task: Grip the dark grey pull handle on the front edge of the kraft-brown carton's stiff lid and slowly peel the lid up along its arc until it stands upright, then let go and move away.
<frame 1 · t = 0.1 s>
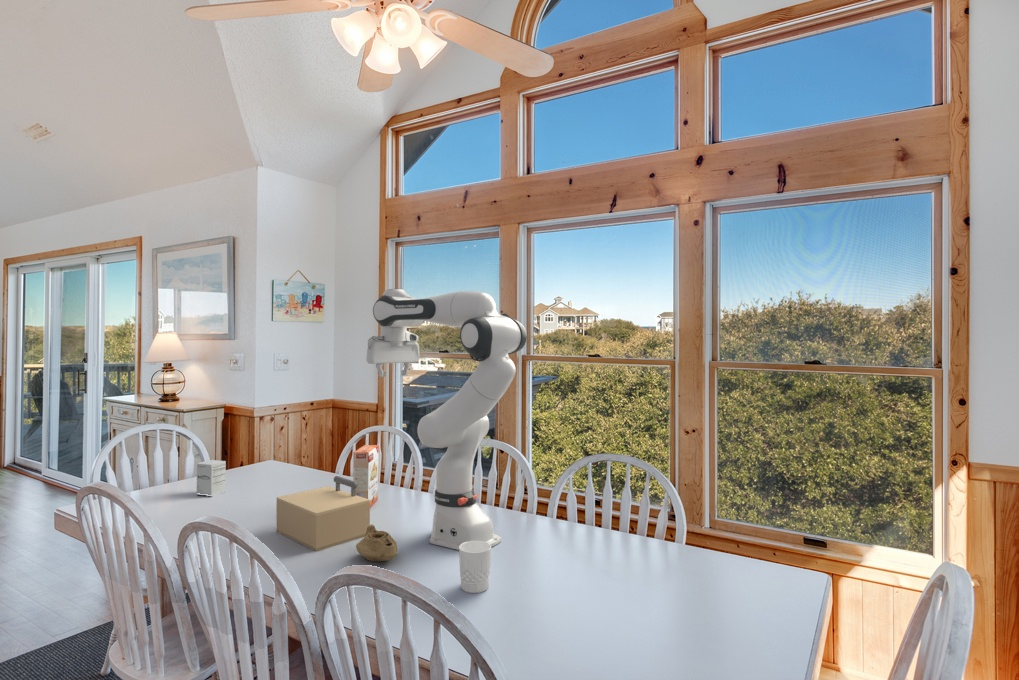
hand: (393, 376, 192), 48 cm above the table, tool pointing down, fingers open, 8 cm apart
white cup: (474, 588, 136), on the table
carton: (322, 533, 173), on the table
carton lid: (322, 492, 173), point 13 cm above the table, hinge at 0.0°
cracker box: (366, 505, 202), on the table
oil lamp: (380, 559, 153), on the table
supplement box: (211, 494, 216), on the table
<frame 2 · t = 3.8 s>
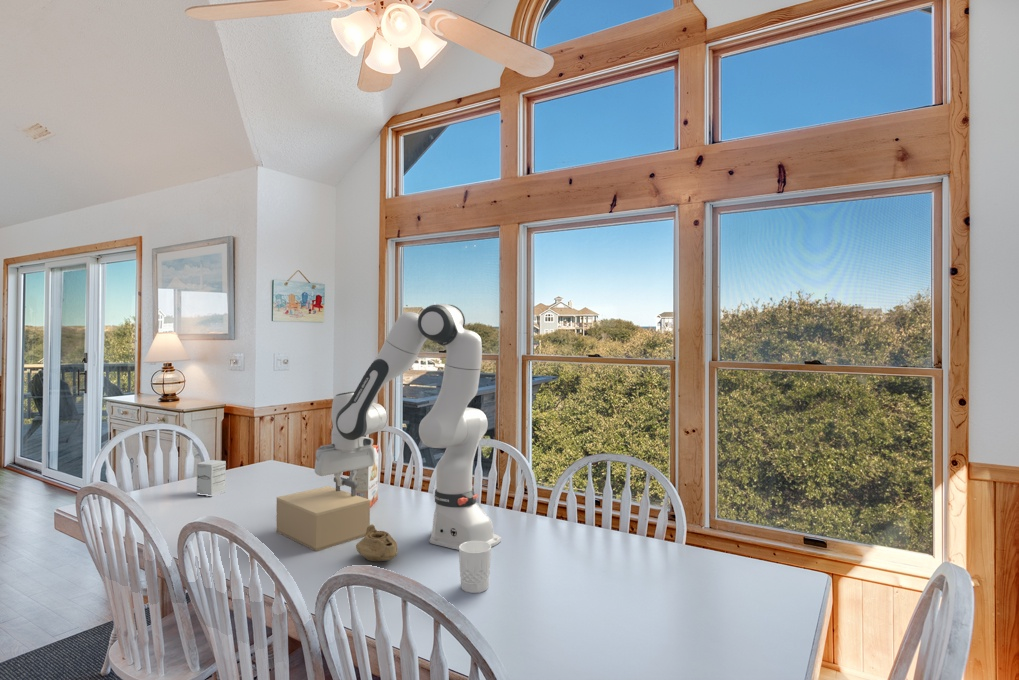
hand: (345, 484, 179), 14 cm above the table, tool pointing down, fingers closed on carton lid, 2 cm apart
carton lid: (322, 492, 173), point 13 cm above the table, hinge at 0.0°, touching gripper
everything else where it was.
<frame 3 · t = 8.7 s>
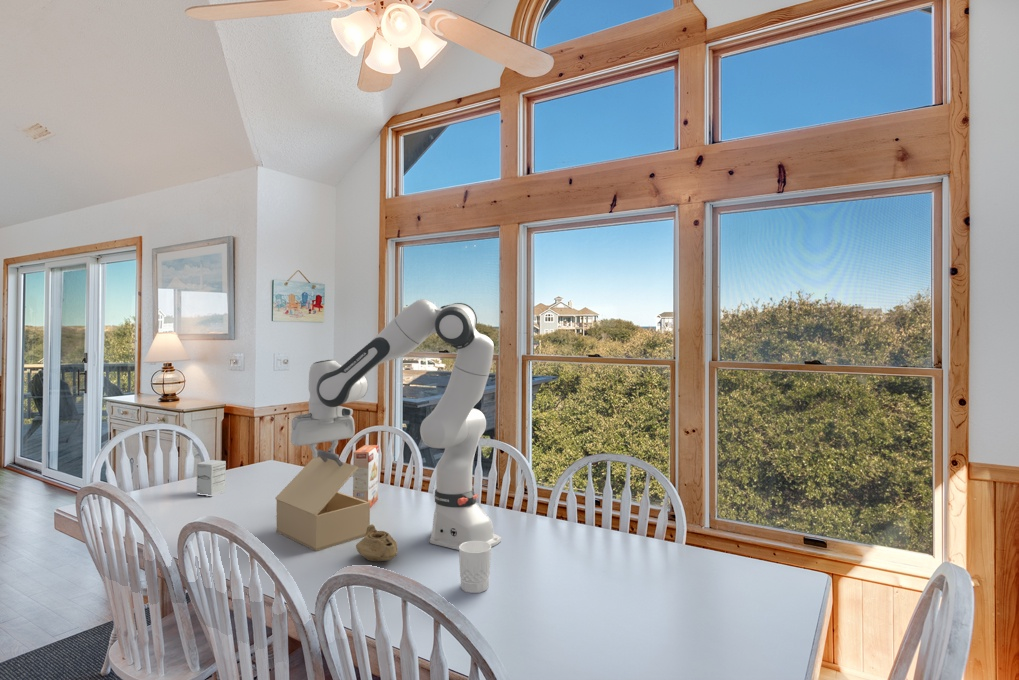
hand: (324, 456, 173), 24 cm above the table, tool pointing down, fingers open, 4 cm apart
carton lid: (311, 478, 170), point 18 cm above the table, hinge at 39.4°, touching gripper
everything else where it was.
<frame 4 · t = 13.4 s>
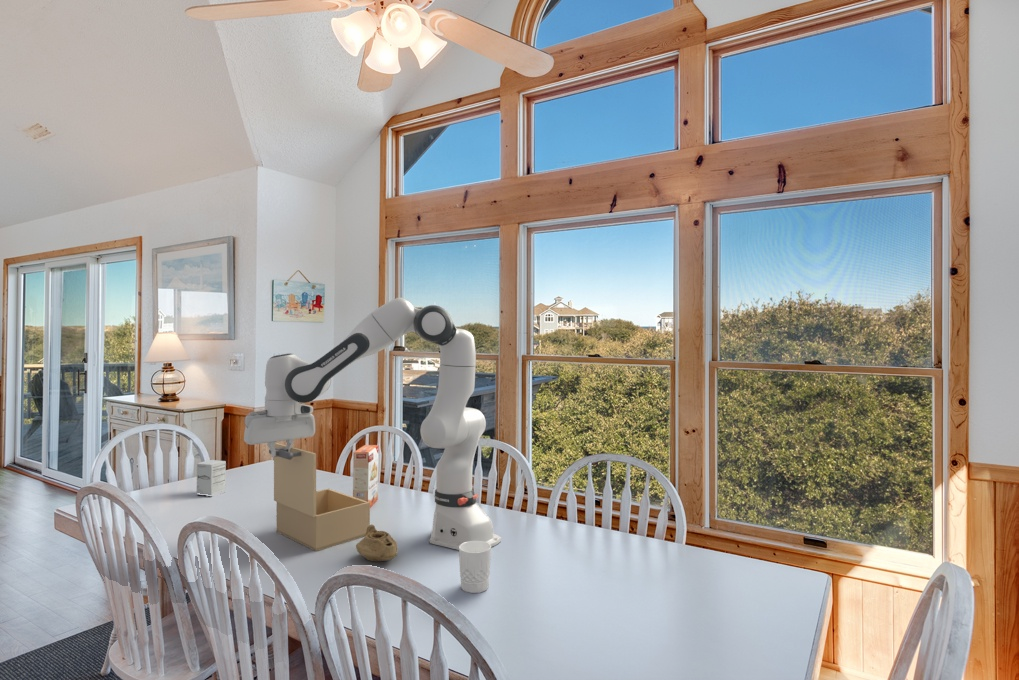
hand: (280, 455, 163), 26 cm above the table, tool pointing down, fingers closed on carton lid, 2 cm apart
carton lid: (286, 479, 164), point 19 cm above the table, hinge at 90.2°, touching gripper
everything else where it was.
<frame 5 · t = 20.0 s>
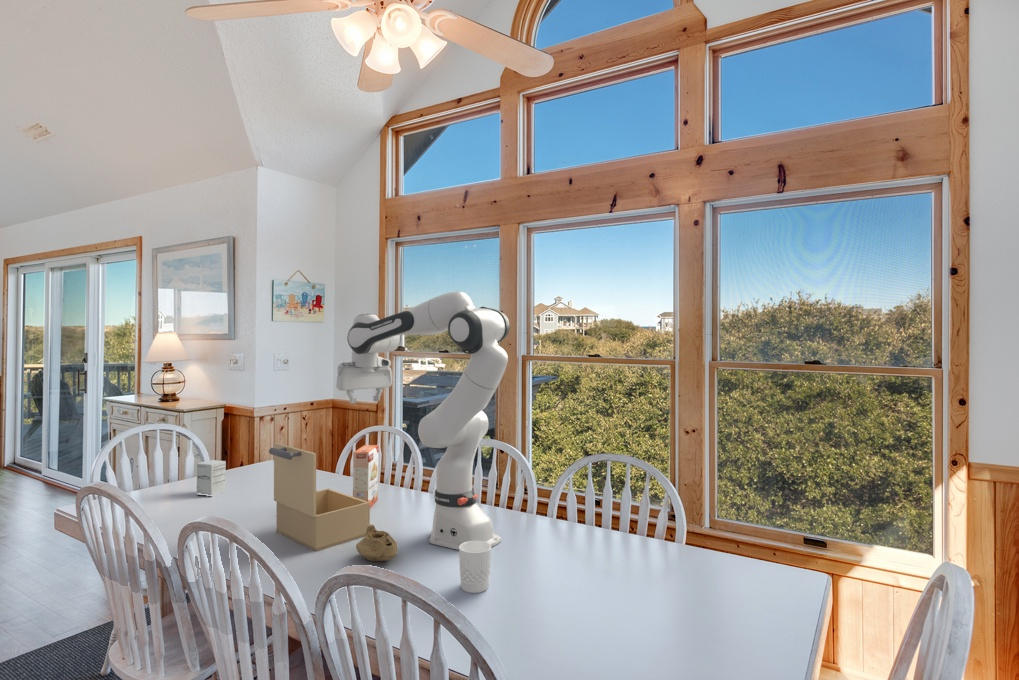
hand: (364, 402, 189), 39 cm above the table, tool pointing down, fingers open, 8 cm apart
carton lid: (286, 479, 164), point 19 cm above the table, hinge at 90.2°
everything else where it was.
at the end: carton lid at +90° (first picture: +0°); the gripper is holding nothing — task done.
